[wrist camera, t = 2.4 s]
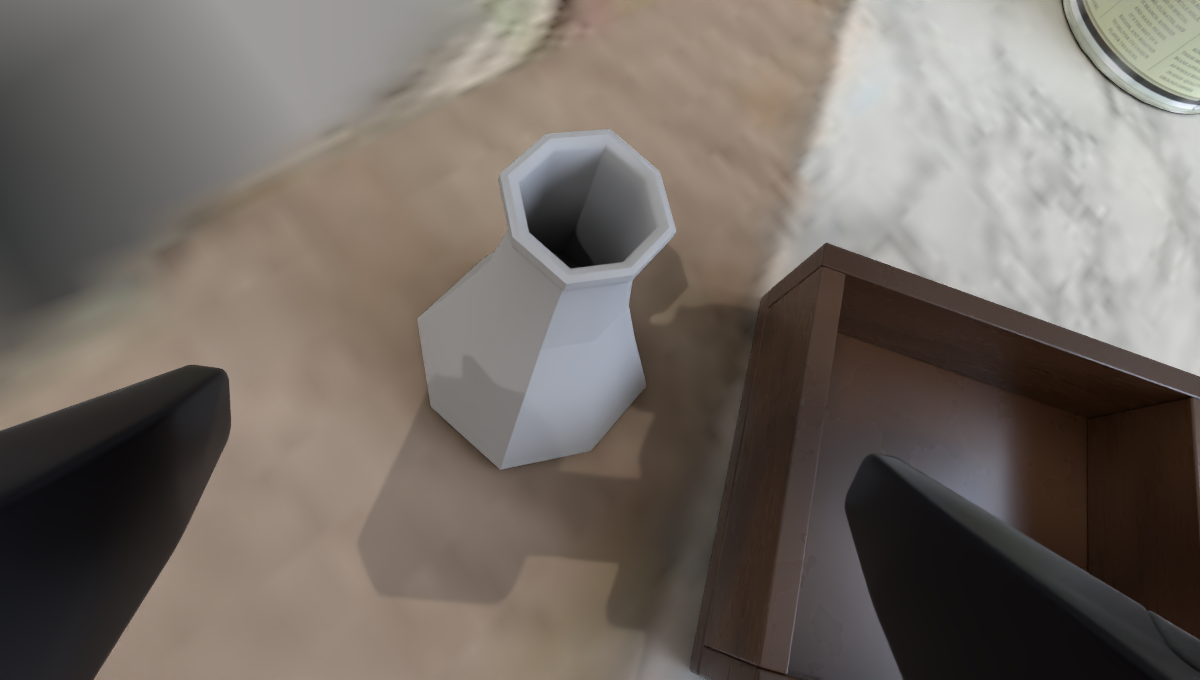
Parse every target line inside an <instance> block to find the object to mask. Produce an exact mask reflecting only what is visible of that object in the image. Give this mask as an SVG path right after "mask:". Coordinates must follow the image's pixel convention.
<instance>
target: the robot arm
mask: <svg viewBox="0 0 1200 680" xmlns="http://www.w3.org/2000/svg"><path fill="white" fill-rule="evenodd" d="M230 429H231V412H230V393H229V379H228V376H227V373H226V372H225V371H224V370H223V369H220V368H214V367H207V366H199V365H188V366H185V367H182V368H179V369H176V370H173V371H170V372H167V373H165V374H162V375H159V376H156V377H153V378H150V379H147V380H145V381H142V382H139V383H136V384H133V385H130V386H127V387H125V388H122V389H119V390H116V391H113V392H110V393H107V394H105V395H102V396H99V397H96V398H93V399H90V400H87V401H85V402H82V403H79V404H76V405H73V406H70V407H68V408H65V409H62V410H59V411H56V412H53V413H50V414H48V415H45V416H42V417H39V418H36V419H33V420H30V421H28V422H25V423H22V424H19V425H16V426H13V427H10V428H8V429H5V430H2V431H0V680H94V678H95V676H96V675H97V673H98V672H99V670H100V668H101V667H102V665H103V664H104V662H105V660H106V659H107V657H108V656H109V654H110V652H111V651H112V649H113V648H114V646H115V644H116V643H117V641H118V640H119V638H120V636H121V635H122V633H123V632H124V630H125V628H126V627H127V625H128V624H129V622H130V620H131V619H132V617H133V616H134V614H135V612H136V611H137V609H138V608H139V606H140V604H141V603H142V601H143V600H144V598H145V596H146V595H147V593H148V592H149V590H150V589H151V587H152V585H153V584H154V582H155V581H156V579H157V577H158V576H159V574H160V573H161V571H162V569H163V568H164V566H165V565H166V563H167V561H168V560H169V558H170V556H171V555H172V553H173V551H174V550H175V548H176V546H177V545H178V543H179V541H180V539H181V537H182V535H183V533H184V531H185V529H186V527H187V525H188V523H189V521H190V519H191V517H192V515H193V513H194V511H195V508H196V506H197V504H198V502H199V500H200V498H201V496H202V494H203V491H204V489H205V487H206V485H207V483H208V481H209V479H210V477H211V474H212V472H213V470H214V468H215V466H216V464H217V462H218V460H219V457H220V455H221V453H222V451H223V449H224V447H225V445H226V442H227V440H228V437H229V434H230ZM844 507H845V514H846V517H847V520H848V524H849V527H850V531H851V534H852V537H853V541H854V544H855V548H856V551H857V555H858V558H859V561H860V565H861V568H862V572H863V575H864V578H865V582H866V585H867V589H868V592H869V595H870V598H871V601H872V604H873V607H874V609H875V612H876V615H877V617H878V620H879V622H880V625H881V627H882V630H883V632H884V635H885V637H886V640H887V642H888V645H889V647H890V650H891V652H892V654H893V657H894V659H895V662H896V664H897V667H898V669H899V672H900V674H901V677H902V679H903V680H1200V640H1199V639H1197V638H1195V637H1194V636H1192V635H1190V634H1189V633H1187V632H1185V631H1184V630H1182V629H1180V628H1179V627H1177V626H1175V625H1174V624H1172V623H1170V622H1169V621H1167V620H1165V619H1164V618H1162V617H1160V616H1159V615H1157V614H1156V613H1154V612H1152V611H1146V609H1145V608H1144V607H1143V606H1142V605H1140V604H1139V603H1137V602H1135V601H1134V600H1132V599H1131V598H1129V597H1127V596H1126V595H1124V594H1122V593H1121V592H1119V591H1117V590H1116V589H1114V588H1112V587H1111V586H1109V585H1107V584H1106V583H1104V582H1102V581H1101V580H1099V579H1097V578H1096V577H1094V576H1093V575H1091V574H1089V573H1088V572H1086V571H1084V570H1083V569H1081V568H1079V567H1078V566H1076V565H1074V564H1073V563H1071V562H1069V561H1068V560H1066V559H1064V558H1063V557H1061V556H1059V555H1058V554H1056V553H1054V552H1053V551H1051V550H1050V549H1048V548H1046V547H1045V546H1043V545H1041V544H1040V543H1038V542H1036V541H1035V540H1033V539H1031V538H1030V537H1028V536H1026V535H1025V534H1023V533H1021V532H1020V531H1018V530H1016V529H1015V528H1013V527H1012V526H1010V525H1008V524H1007V523H1005V522H1003V521H1002V520H1000V519H998V518H997V517H995V516H993V515H992V514H990V513H988V512H987V511H985V510H983V509H982V508H980V507H978V506H977V505H975V504H974V503H972V502H970V501H969V500H967V499H965V498H964V497H962V496H960V495H959V494H957V493H955V492H954V491H952V490H950V489H949V488H947V487H945V486H944V485H942V484H940V483H939V482H937V481H935V480H934V479H932V478H931V477H929V476H927V475H926V474H924V473H922V472H921V471H919V470H917V469H916V468H914V467H912V466H911V465H909V464H907V463H906V462H904V461H902V460H901V459H899V458H897V457H894V456H889V455H881V454H870V455H867V456H866V457H865V458H864V459H863V461H862V462H861V464H860V466H859V469H858V471H857V473H856V475H855V477H854V479H853V481H852V483H851V485H850V487H849V489H848V492H847V494H846V497H845V504H844Z"/></svg>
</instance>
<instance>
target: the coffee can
mask: <svg viewBox="0 0 1200 680" xmlns="http://www.w3.org/2000/svg"><path fill="white" fill-rule="evenodd" d="M1063 6H1064V11H1065V14H1066V18H1067V20H1068V23H1069V25H1070V27H1071V30H1072V32H1073V34H1074V36H1075V38H1076V39H1077V41H1078V43H1079V45H1080V47H1081V48H1082V50H1083V51H1084V52H1085V53H1086V54H1087V55H1088V56H1089V58H1090V59H1091V60H1092V62H1093V63H1094V64H1095V66H1096V67H1097V68H1098V69H1099V70H1100V71H1101V72H1102V73H1103V74H1104V75H1106V76H1107V77H1108V78H1109V79H1110V80H1112V81H1113V82H1114V83H1115V84H1116V85H1118V86H1119V87H1120V88H1122V89H1123V90H1125V91H1126V92H1128V93H1129V94H1131V95H1133V96H1134V97H1136V98H1138V99H1139V100H1141V101H1143V102H1145V103H1148V104H1150V105H1153V106H1155V107H1158V108H1160V109H1164V110H1167V111H1170V112H1174V113H1183V114H1198V113H1200V0H1063Z"/></svg>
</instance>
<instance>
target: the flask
mask: <svg viewBox="0 0 1200 680" xmlns="http://www.w3.org/2000/svg"><path fill="white" fill-rule="evenodd" d="M498 181H499V186H500V191H501V196H502V201H503V206H504V211H505V215H506V220H507V225H508V231H507V233H506V234H505V236H504V238H503V239H502V241H501V243H500V244H499V246H498V248H497V249H496V251H494V252H493V253H491V254H489V255H488V256H486V257H485V258H483V259H482V260H481V261H480V262H479V263H478V264H476V265H475V266H474V267H473V268H472V269H471V270H470V271H469V272H468V273H467V274H466V275H464V276H463V277H462V278H461V279H460V280H459V281H458V282H457V283H456V284H455V285H454V286H452V287H451V288H450V289H449V290H448V291H447V292H446V293H445V294H444V295H443V296H442V297H440V298H439V299H438V300H437V301H436V302H435V303H434V304H433V305H432V306H431V307H430V308H428V309H427V310H426V311H425V312H424V313H423V314H422V315H421V316H420V317H419V318H418V319H417V322H418V328H419V335H420V341H421V348H422V354H423V361H424V367H425V373H426V380H427V386H428V393H429V399H430V406H431V407H432V408H433V409H434V410H435V411H436V412H437V413H438V414H439V415H440V416H442V417H443V418H444V419H445V420H446V421H447V422H448V423H449V424H450V425H451V426H453V427H454V428H455V429H456V430H457V431H458V432H459V433H460V434H461V435H462V436H464V437H465V438H466V439H467V440H468V441H469V442H470V443H471V444H472V445H473V446H475V447H476V448H477V449H478V450H479V451H480V452H481V453H482V454H483V455H484V456H486V457H487V458H488V459H489V460H490V461H491V462H492V463H493V464H494V465H495V466H497V467H498V468H499V469H500V470H501V469H506V468H511V467H516V466H521V465H526V464H531V463H536V462H540V461H545V460H550V459H555V458H560V457H565V456H570V455H575V454H580V453H585V452H589V451H591V450H592V449H593V448H594V447H595V446H596V445H597V443H598V442H599V441H600V440H601V439H602V438H603V436H604V435H605V434H606V433H607V432H608V431H609V429H610V428H611V427H612V426H613V425H614V424H615V422H616V421H617V420H618V419H619V418H620V416H621V415H622V414H623V413H624V412H625V411H626V409H627V408H628V407H629V406H630V405H631V404H632V402H633V401H634V400H635V399H636V398H637V397H638V395H639V394H640V393H641V392H642V391H643V390H644V388H645V387H646V382H645V377H644V373H643V368H642V364H641V360H640V356H639V352H638V348H637V344H636V340H635V336H634V331H633V326H632V320H631V315H630V309H629V300H630V294H631V288H632V282H633V279H634V278H635V277H636V276H637V275H638V274H639V272H640V271H641V270H642V269H643V268H644V267H645V266H646V265H647V264H648V263H649V262H650V261H651V260H652V259H653V258H654V257H655V256H656V254H657V253H658V252H659V251H660V250H661V249H662V248H663V247H664V246H665V245H666V244H667V243H668V242H669V241H670V240H671V239H672V237H673V236H674V234H675V233H676V228H675V224H674V220H673V217H672V213H671V210H670V206H669V202H668V199H667V195H666V192H665V188H664V184H663V181H662V177H661V174H660V171H659V170H658V169H656V168H655V167H654V166H653V165H652V164H651V163H649V162H648V161H647V160H646V159H645V158H644V157H642V156H641V155H640V154H639V153H638V152H637V151H635V150H634V149H633V148H632V147H631V146H630V145H628V144H627V143H626V142H625V141H624V140H623V139H621V138H620V137H619V136H618V135H617V134H616V133H614V132H613V131H612V130H611V129H603V130H590V131H576V132H562V133H548V134H545V135H544V136H543V137H542V138H541V139H539V140H538V141H537V142H536V143H535V144H534V145H532V146H531V147H530V148H529V149H528V150H527V151H525V152H524V153H523V154H522V155H521V156H520V157H518V158H517V159H516V160H515V161H514V162H513V163H511V164H510V165H509V166H508V167H507V168H506V169H505V170H503V171H502V172H501V173H500V175H499V179H498Z"/></svg>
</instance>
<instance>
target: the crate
mask: <svg viewBox="0 0 1200 680" xmlns="http://www.w3.org/2000/svg"><path fill="white" fill-rule="evenodd" d="M870 454H881V455H889V456H894V457H897V458H899V459H901V460H902V461H904V462H906V463H907V464H909V465H911V466H912V467H914V468H916V469H917V470H919V471H921V472H922V473H924V474H926V475H927V476H929V477H931V478H932V479H934V480H935V481H937V482H939V483H940V484H942V485H944V486H945V487H947V488H949V489H950V490H952V491H954V492H955V493H957V494H959V495H960V496H962V497H964V498H965V499H967V500H969V501H970V502H972V503H974V504H975V505H977V506H978V507H980V508H982V509H983V510H985V511H987V512H988V513H990V514H992V515H993V516H995V517H997V518H998V519H1000V520H1002V521H1003V522H1005V523H1007V524H1008V525H1010V526H1012V527H1013V528H1015V529H1016V530H1018V531H1020V532H1021V533H1023V534H1025V535H1026V536H1028V537H1030V538H1031V539H1033V540H1035V541H1036V542H1038V543H1040V544H1041V545H1043V546H1045V547H1046V548H1048V549H1050V550H1051V551H1053V552H1054V553H1056V554H1058V555H1059V556H1061V557H1063V558H1064V559H1066V560H1068V561H1069V562H1071V563H1073V564H1074V565H1076V566H1078V567H1079V568H1081V569H1083V570H1084V571H1086V572H1088V573H1089V574H1091V575H1093V576H1094V577H1096V578H1097V579H1099V580H1101V581H1102V582H1104V583H1106V584H1107V585H1109V586H1111V587H1112V588H1114V589H1116V590H1117V591H1119V592H1121V593H1122V594H1124V595H1126V596H1127V597H1129V598H1131V599H1132V600H1134V601H1135V602H1137V603H1139V604H1140V605H1142V606H1143V607H1144V608H1145V609H1146V611H1152V612H1154V613H1156V614H1157V615H1159V616H1160V617H1162V618H1164V619H1165V620H1167V621H1169V622H1170V623H1172V624H1174V625H1175V626H1177V627H1179V628H1180V629H1182V630H1184V631H1185V632H1187V633H1189V634H1190V635H1192V636H1194V637H1195V638H1197V639H1199V640H1200V377H1199V376H1196V375H1194V374H1191V373H1188V372H1185V371H1182V370H1180V369H1177V368H1174V367H1171V366H1169V365H1166V364H1163V363H1160V362H1157V361H1155V360H1152V359H1149V358H1146V357H1143V356H1141V355H1138V354H1135V353H1132V352H1129V351H1127V350H1124V349H1121V348H1118V347H1116V346H1113V345H1110V344H1107V343H1104V342H1102V341H1099V340H1096V339H1093V338H1090V337H1088V336H1085V335H1082V334H1079V333H1076V332H1074V331H1071V330H1068V329H1065V328H1063V327H1060V326H1057V325H1054V324H1051V323H1049V322H1046V321H1043V320H1040V319H1037V318H1035V317H1032V316H1029V315H1026V314H1024V313H1021V312H1018V311H1015V310H1012V309H1010V308H1007V307H1004V306H1001V305H998V304H996V303H993V302H990V301H987V300H984V299H982V298H979V297H976V296H973V295H971V294H968V293H965V292H962V291H959V290H957V289H954V288H951V287H948V286H945V285H943V284H940V283H937V282H934V281H931V280H929V279H926V278H923V277H920V276H918V275H915V274H912V273H909V272H906V271H904V270H901V269H898V268H895V267H892V266H890V265H887V264H884V263H881V262H879V261H876V260H873V259H870V258H867V257H865V256H862V255H859V254H856V253H853V252H851V251H848V250H845V249H842V248H839V247H837V246H834V245H831V244H828V243H825V244H824V245H823V246H822V247H820V248H819V249H818V250H817V251H816V252H814V253H813V254H812V255H811V256H810V257H809V258H807V259H806V260H805V261H804V262H803V263H801V264H800V265H799V266H798V267H797V268H795V269H794V270H793V271H792V272H791V273H790V274H788V275H787V276H786V277H785V278H784V279H782V280H781V281H780V282H779V283H778V284H777V285H775V286H774V287H773V288H772V289H771V290H770V291H769V292H768V293H767V294H765V295H764V296H763V297H762V299H761V304H760V309H759V314H758V319H757V324H756V329H755V334H754V340H753V345H752V350H751V355H750V360H749V365H748V370H747V376H746V381H745V386H744V391H743V396H742V401H741V406H740V411H739V417H738V422H737V427H736V432H735V437H734V442H733V447H732V452H731V458H730V463H729V468H728V473H727V478H726V483H725V488H724V494H723V499H722V504H721V509H720V514H719V519H718V524H717V529H716V535H715V540H714V545H713V550H712V555H711V560H710V565H709V570H708V576H707V581H706V586H705V591H704V596H703V601H702V606H701V612H700V617H699V622H698V627H697V632H696V637H695V642H694V647H693V653H692V658H691V663H690V671H692V672H693V673H695V674H697V675H699V676H701V677H703V678H705V679H707V680H903V679H902V677H901V674H900V672H899V669H898V667H897V664H896V662H895V659H894V657H893V654H892V652H891V650H890V647H889V645H888V642H887V640H886V637H885V635H884V632H883V630H882V627H881V625H880V622H879V620H878V617H877V615H876V612H875V609H874V607H873V604H872V601H871V598H870V595H869V592H868V589H867V585H866V582H865V578H864V575H863V572H862V568H861V565H860V561H859V558H858V555H857V551H856V548H855V544H854V541H853V537H852V534H851V531H850V527H849V524H848V520H847V517H846V514H845V507H844V504H845V497H846V494H847V492H848V489H849V487H850V485H851V483H852V481H853V479H854V477H855V475H856V473H857V471H858V469H859V466H860V464H861V462H862V461H863V459H864V458H865V457H866V456H867V455H870Z"/></svg>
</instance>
